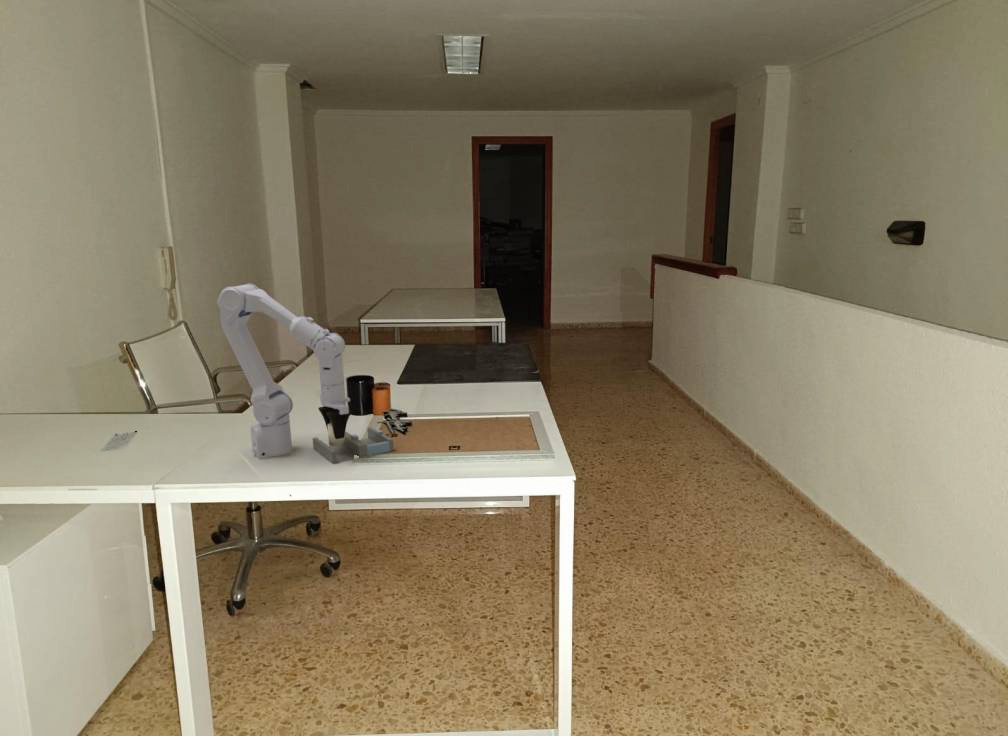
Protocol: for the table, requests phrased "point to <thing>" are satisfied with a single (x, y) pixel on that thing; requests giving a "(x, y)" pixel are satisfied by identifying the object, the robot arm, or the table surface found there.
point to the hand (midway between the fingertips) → (336, 435)
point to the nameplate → (396, 421)
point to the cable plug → (332, 438)
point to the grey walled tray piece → (355, 446)
